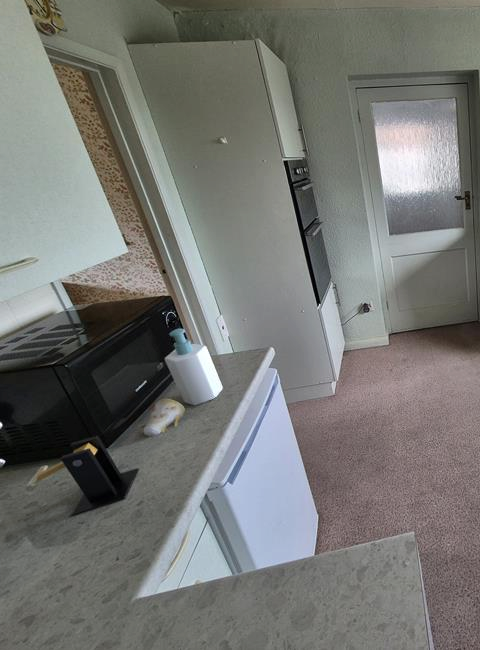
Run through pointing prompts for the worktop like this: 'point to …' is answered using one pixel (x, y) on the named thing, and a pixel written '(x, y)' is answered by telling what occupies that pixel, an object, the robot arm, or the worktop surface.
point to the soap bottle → (193, 370)
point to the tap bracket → (97, 476)
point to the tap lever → (52, 469)
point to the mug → (163, 416)
